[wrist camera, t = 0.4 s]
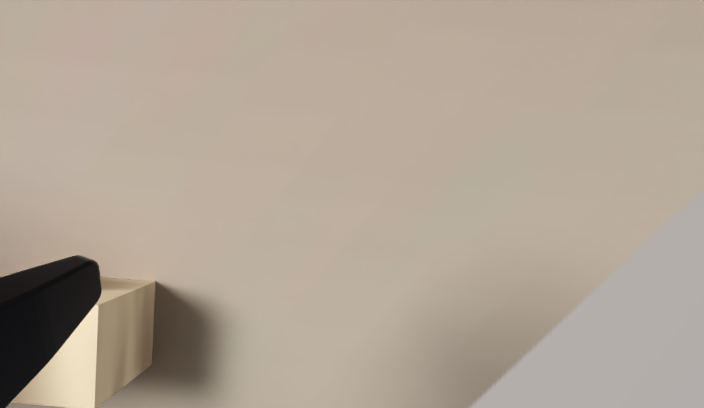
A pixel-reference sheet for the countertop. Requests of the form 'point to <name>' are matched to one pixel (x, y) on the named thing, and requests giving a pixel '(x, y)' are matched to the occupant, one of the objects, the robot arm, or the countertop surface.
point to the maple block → (99, 349)
